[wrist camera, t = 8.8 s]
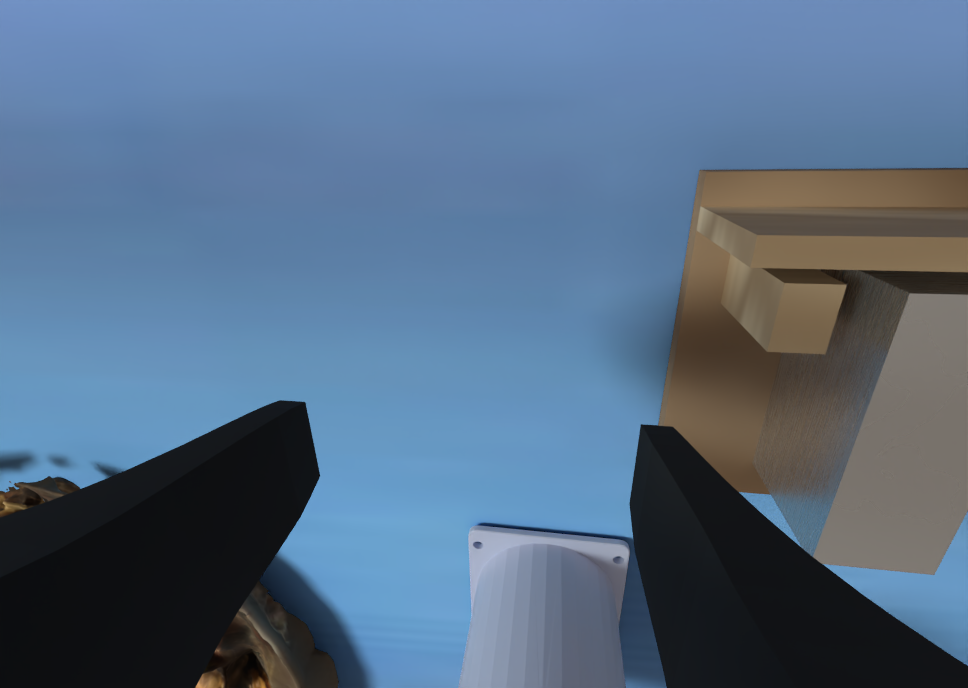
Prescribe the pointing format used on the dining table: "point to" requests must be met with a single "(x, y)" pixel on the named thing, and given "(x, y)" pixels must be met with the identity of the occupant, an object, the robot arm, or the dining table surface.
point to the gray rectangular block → (876, 425)
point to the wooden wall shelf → (788, 284)
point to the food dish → (251, 635)
